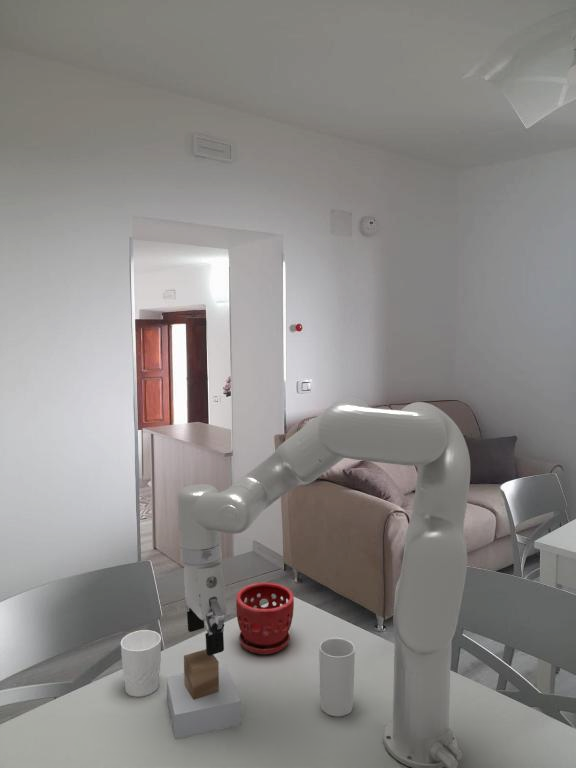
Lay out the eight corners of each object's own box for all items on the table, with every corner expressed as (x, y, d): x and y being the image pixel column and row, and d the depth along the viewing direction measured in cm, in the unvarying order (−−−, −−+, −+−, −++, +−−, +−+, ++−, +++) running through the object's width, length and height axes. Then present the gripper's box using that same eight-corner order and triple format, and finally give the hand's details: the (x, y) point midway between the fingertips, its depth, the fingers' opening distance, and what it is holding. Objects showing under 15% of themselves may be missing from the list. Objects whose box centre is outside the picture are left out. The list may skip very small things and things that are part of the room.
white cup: (114, 694, 116) (112, 647, 115) (135, 672, 124) (134, 627, 123) (149, 702, 114) (148, 653, 113) (169, 679, 122) (168, 633, 121)
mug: (353, 719, 109) (354, 658, 108) (317, 716, 110) (317, 655, 109) (355, 686, 119) (356, 630, 118) (322, 683, 120) (322, 627, 119)
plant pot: (224, 647, 134) (224, 597, 132) (261, 624, 144) (261, 577, 143) (269, 667, 126) (269, 614, 124) (305, 641, 136) (305, 591, 135)
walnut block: (218, 691, 110) (218, 661, 109) (193, 699, 108) (192, 669, 107) (209, 677, 114) (208, 648, 114) (184, 685, 112) (183, 655, 111)
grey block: (241, 726, 108) (240, 701, 107) (175, 741, 104) (174, 714, 104) (226, 688, 119) (226, 665, 119) (167, 700, 115) (166, 676, 115)
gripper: (238, 563, 103) (243, 656, 104) (203, 534, 118) (207, 616, 119) (198, 573, 99) (203, 669, 101) (166, 542, 114) (171, 626, 116)
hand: (205, 640), depth 110 cm, fingers open, 9 cm apart
